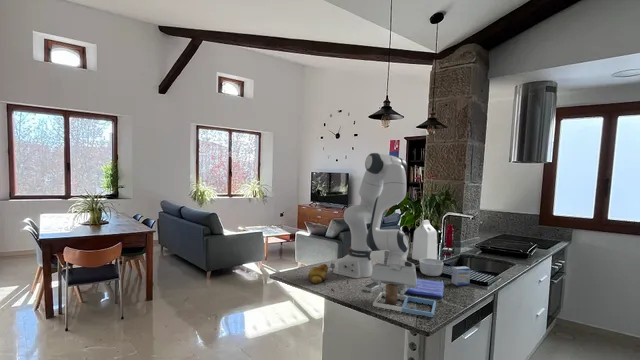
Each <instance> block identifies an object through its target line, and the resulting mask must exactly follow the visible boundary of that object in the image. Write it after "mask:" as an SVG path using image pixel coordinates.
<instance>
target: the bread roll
mask: <svg viewBox="0 0 640 360" xmlns="http://www.w3.org/2000/svg"><path fill="white" fill-rule="evenodd" d="M328 269H329V265H327V264H326V263H324V264H321V265H319V266H314V267H311V269H310V270H309V272H308V275H307V276H308V280H309V281H310V280H311V282H312V284H321V283H322V282H323V280H324V281H325V280H326V278H327V273H328Z"/></svg>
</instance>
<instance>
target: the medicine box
mask: <svg viewBox="0 0 640 360" xmlns="http://www.w3.org/2000/svg"><path fill="white" fill-rule="evenodd" d="M470 280H471V268H470V267H468V266H465V265H464V266H463V265H462V266H452V267H451V283H452V284H453V285H456V286H468V285H470Z"/></svg>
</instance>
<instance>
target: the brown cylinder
mask: <svg viewBox="0 0 640 360" xmlns="http://www.w3.org/2000/svg"><path fill="white" fill-rule="evenodd" d="M398 287H399V286H397V285H394V284H386V285H385V292H386V297H385V299H384V300H385V301H384V302H385V303H386V304H389V305H396V304H397V305H398V299H397V294H398ZM385 303H384V304H385ZM397 305H396V306H397Z"/></svg>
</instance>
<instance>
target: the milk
mask: <svg viewBox="0 0 640 360" xmlns="http://www.w3.org/2000/svg"><path fill="white" fill-rule="evenodd" d="M430 222H431V221H430V219H424V220H422V221H421V224H420V225H419V226H418V227H416V229H415V230H414V231H413V239H412V241H413V242H412V251H411V253H412V255H411V259H412V260H416V261H419V260H420V259H423V258H431V259H437V260H438V232H437V230H436V229H435V228H434V227H433V226H432V225H431V223H430Z"/></svg>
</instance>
